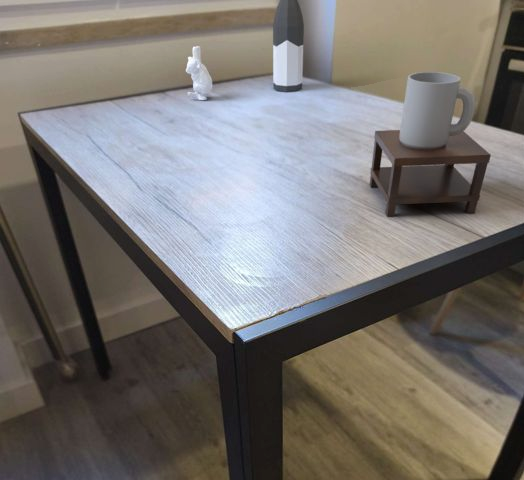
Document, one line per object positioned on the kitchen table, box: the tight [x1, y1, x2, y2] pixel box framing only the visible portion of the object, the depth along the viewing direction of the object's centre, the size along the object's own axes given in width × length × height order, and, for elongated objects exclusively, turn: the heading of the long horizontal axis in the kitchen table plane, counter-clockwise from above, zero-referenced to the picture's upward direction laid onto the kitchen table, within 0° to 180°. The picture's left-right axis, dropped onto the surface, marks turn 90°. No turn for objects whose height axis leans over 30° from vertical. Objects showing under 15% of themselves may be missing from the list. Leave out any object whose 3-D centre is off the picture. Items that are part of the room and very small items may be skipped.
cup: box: [399, 71, 476, 149], centre depth 75 cm, size 7×10×9 cm
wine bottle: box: [272, 0, 305, 93], centre depth 133 cm, size 8×8×30 cm
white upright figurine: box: [185, 45, 213, 101], centre depth 132 cm, size 8×7×12 cm
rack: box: [369, 129, 492, 217], centre depth 81 cm, size 14×13×9 cm
